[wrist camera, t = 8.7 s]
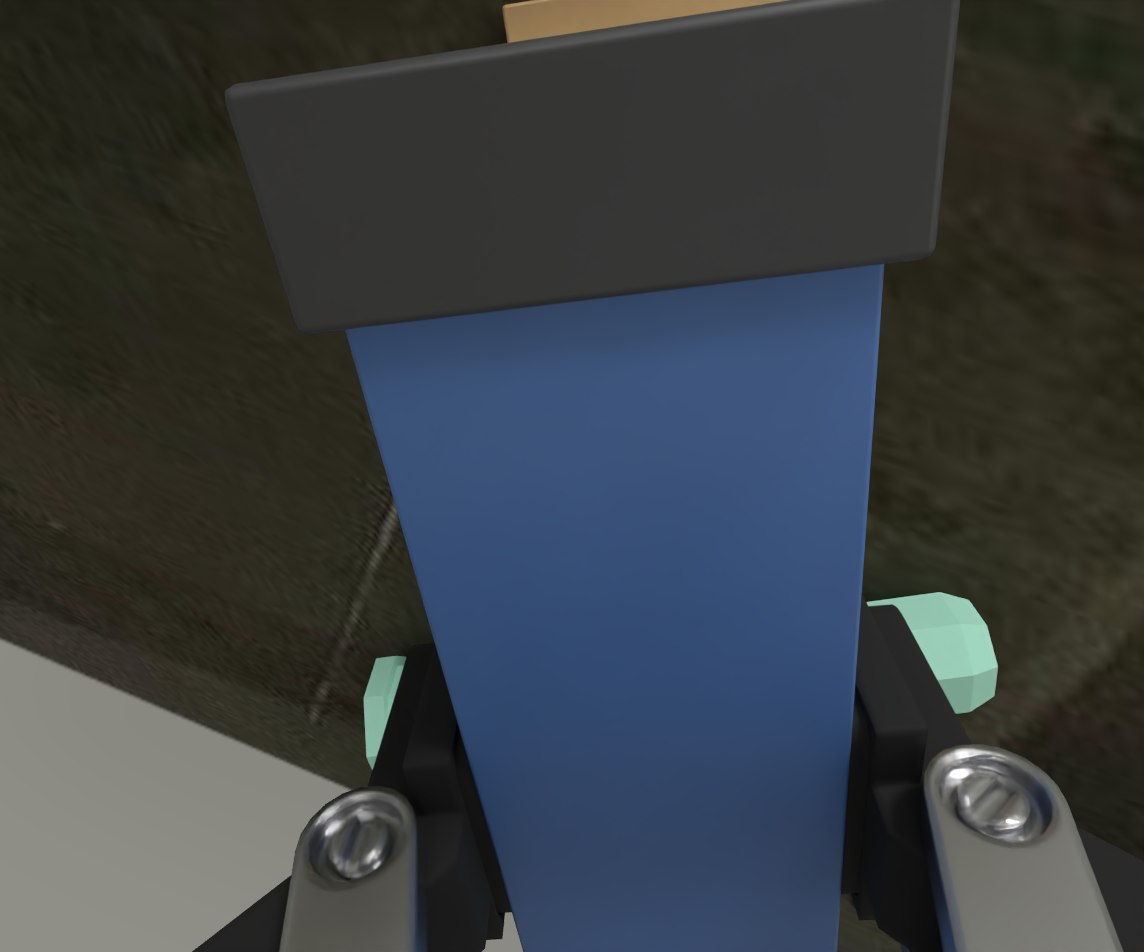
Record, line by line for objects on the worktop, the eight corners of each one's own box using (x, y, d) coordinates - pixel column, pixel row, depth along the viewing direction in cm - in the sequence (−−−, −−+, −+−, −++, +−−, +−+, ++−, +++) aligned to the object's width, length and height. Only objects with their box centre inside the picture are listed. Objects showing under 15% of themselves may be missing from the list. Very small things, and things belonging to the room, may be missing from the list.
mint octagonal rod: (1043, 688, 27) (355, 773, 29) (997, 744, 31) (407, 813, 34) (976, 545, 30) (370, 631, 33) (944, 614, 35) (415, 685, 37)
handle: (383, 65, 8) (215, 86, 5) (790, 4, 8) (968, -27, 4) (572, 914, 16) (567, 1184, 12) (783, 903, 16) (844, 1176, 12)
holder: (504, 6, 22) (478, -3, 17) (784, -40, 22) (846, -64, 16) (584, 522, 31) (583, 620, 26) (785, 501, 30) (825, 597, 25)
